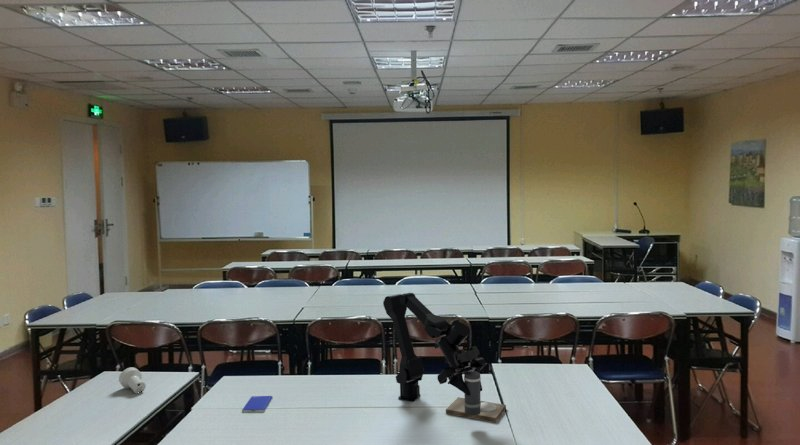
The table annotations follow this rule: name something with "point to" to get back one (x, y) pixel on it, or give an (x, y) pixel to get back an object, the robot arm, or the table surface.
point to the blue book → (257, 404)
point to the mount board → (486, 410)
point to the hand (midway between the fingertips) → (475, 393)
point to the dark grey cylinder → (472, 393)
